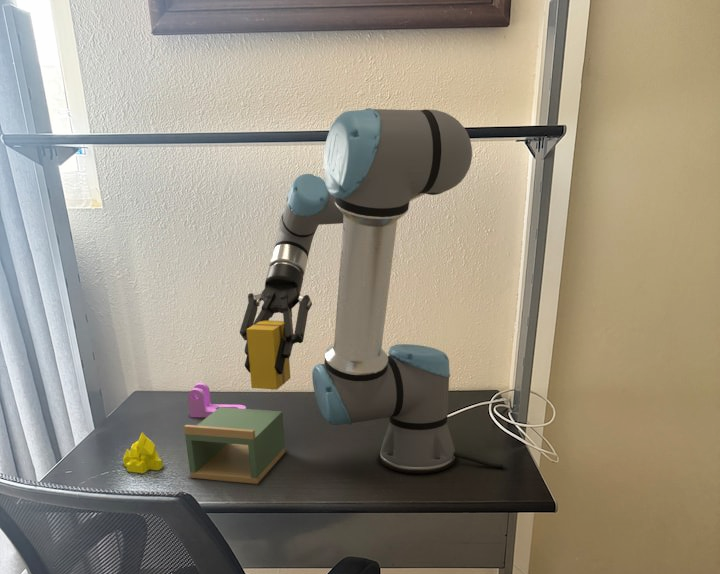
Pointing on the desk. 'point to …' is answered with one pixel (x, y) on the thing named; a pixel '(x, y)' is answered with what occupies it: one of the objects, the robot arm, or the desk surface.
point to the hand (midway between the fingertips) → (263, 369)
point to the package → (266, 354)
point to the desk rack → (235, 444)
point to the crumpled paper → (142, 456)
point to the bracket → (204, 402)
